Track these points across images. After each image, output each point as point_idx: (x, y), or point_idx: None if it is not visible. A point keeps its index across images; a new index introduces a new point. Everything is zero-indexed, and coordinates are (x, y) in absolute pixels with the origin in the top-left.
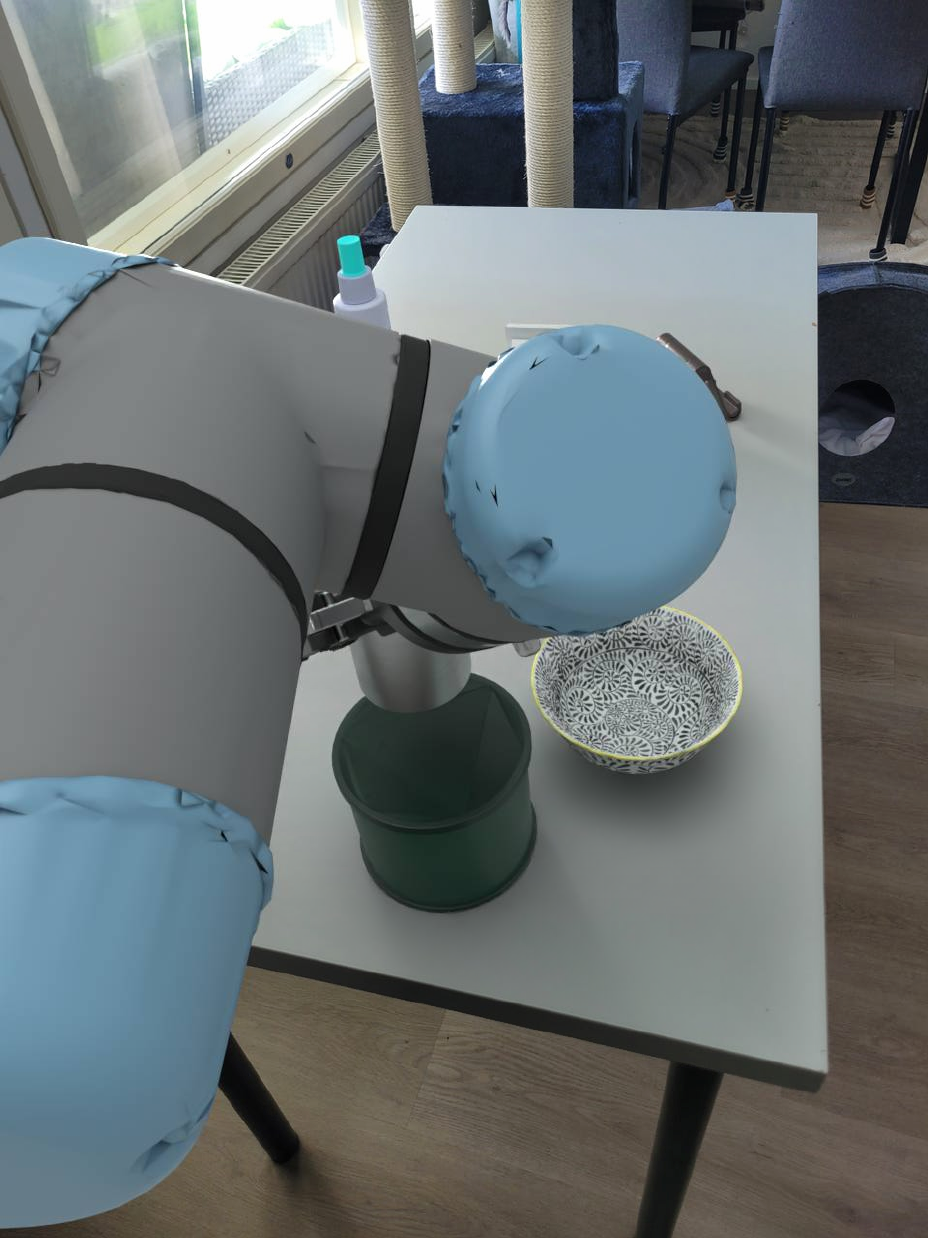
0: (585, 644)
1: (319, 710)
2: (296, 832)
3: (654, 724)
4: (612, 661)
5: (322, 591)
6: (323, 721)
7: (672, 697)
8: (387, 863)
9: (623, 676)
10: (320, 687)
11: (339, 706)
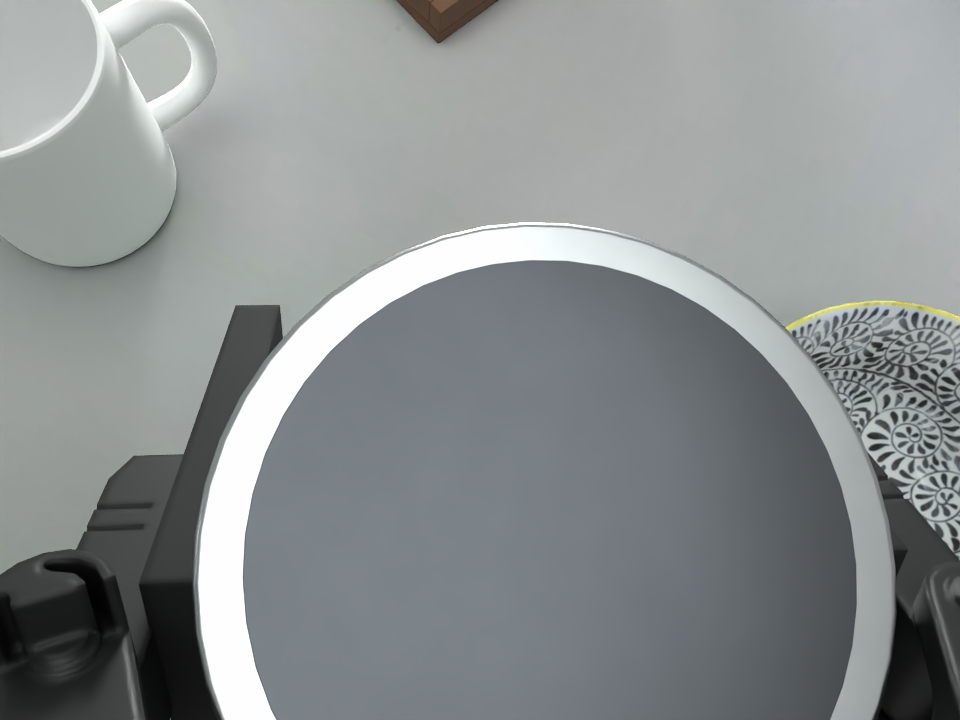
0: (836, 351)
1: (317, 205)
2: (187, 443)
3: None
4: (857, 385)
5: (115, 577)
6: (315, 232)
7: (917, 496)
8: None
9: (856, 414)
10: (336, 157)
11: (354, 214)
